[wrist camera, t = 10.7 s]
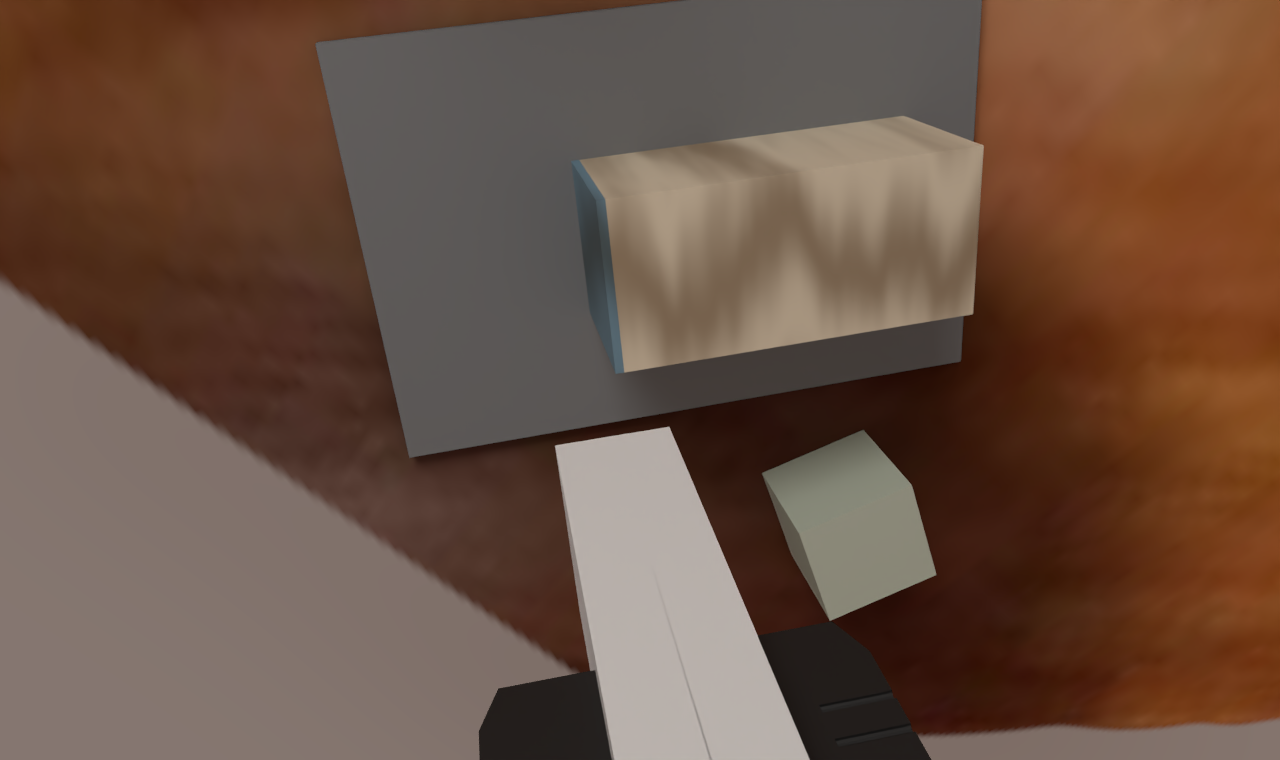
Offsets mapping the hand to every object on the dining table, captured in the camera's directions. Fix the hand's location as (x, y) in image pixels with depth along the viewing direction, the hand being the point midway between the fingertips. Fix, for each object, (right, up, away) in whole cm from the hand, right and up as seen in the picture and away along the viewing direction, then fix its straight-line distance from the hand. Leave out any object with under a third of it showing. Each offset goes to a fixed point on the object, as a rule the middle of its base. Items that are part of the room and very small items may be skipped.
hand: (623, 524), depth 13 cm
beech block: (-1, +6, +21) cm, 22 cm away
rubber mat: (+2, +8, +25) cm, 26 cm away
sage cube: (+9, -3, +32) cm, 33 cm away
